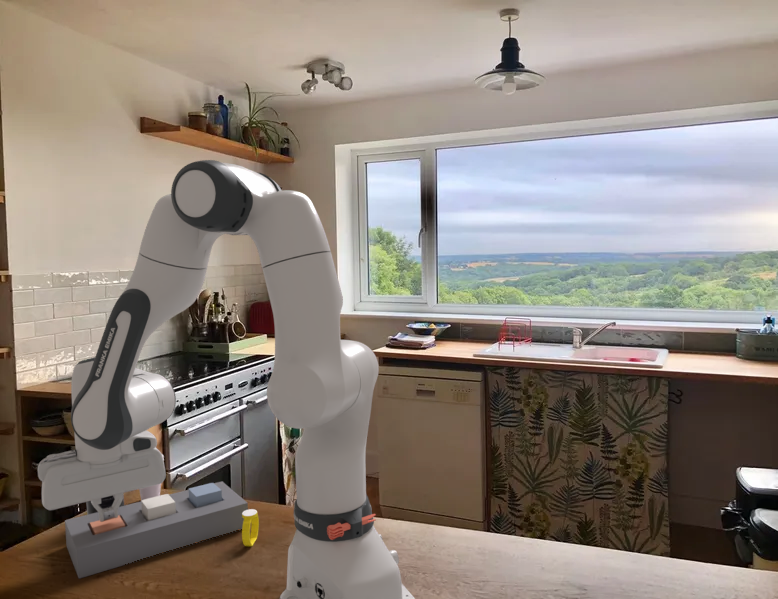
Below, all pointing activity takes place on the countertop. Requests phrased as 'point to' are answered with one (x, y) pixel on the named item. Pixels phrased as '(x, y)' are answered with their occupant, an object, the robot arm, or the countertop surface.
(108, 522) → the terracotta key
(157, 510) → the white key
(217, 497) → the slate blue key
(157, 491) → the smoothie
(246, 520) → the watch
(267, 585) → the countertop surface
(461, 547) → the countertop surface
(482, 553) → the countertop surface
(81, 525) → the key panel
